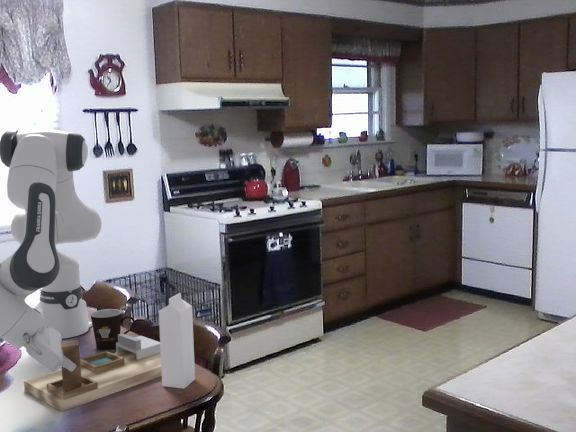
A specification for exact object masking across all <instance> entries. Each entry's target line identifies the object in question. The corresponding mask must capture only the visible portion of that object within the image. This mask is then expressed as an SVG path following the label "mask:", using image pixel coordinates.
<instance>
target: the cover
mask: <svg viewBox="0 0 576 432" xmlns="http://www.w3.org/2000/svg"><path fill="white" fill-rule="evenodd" d="M123 333H124V332H122V333H120V334H118V343H116V349H115V351H116V352H120V351H124V350H128V351H131V352H133V353H136V360H140V359H143V358H146V357H149V356H152V355H155V354H158V353H161V349H160V341H158V340H155V339H152V338H149V337H146V336H143V335H138V336H131V335H129V334H127V333H126V334H123ZM116 352H115V353H116Z"/></svg>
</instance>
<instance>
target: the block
mask: <svg viewBox="0 0 576 432" xmlns="http://www.w3.org/2000/svg"><path fill="white" fill-rule="evenodd" d="M79 341H80V340H79V339H75V340H73V339H72V340H65V341H62V342H61V348H62V349H63V355H64V356H65V357H66V358H68V359H69V360H72V361H73V362H75V363H76V368H75V369H74V370H73V371H69V370H68V369H66V368H64V367H62V366H61V369H62V379H63V391H65V392H67V391H70V390H73V389H76V388H79V387H82V380H81V365H80V359H81V352H80V349H81V348H80V342H79Z"/></svg>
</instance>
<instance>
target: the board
mask: <svg viewBox="0 0 576 432" xmlns="http://www.w3.org/2000/svg"><path fill="white" fill-rule="evenodd" d="M80 365H81V380H82V387H79V388H76V389H73V390H70V391H67V392H65V391H63V379H62V368H61V369H56V370H55V371H51V372H48V373H45V374H42V375H37V376H35V377H32V378H28V379H26V380H23V387H24V388H23V389H24V392H26V393H28V394H29V395H31V396H34V397H35V398H37V399H38V400H40V401H42V402H43V403H45V404H46V405H49V406H51V407H53V408H54V409H56V410H58V411H59V412H60V413H61V412H62V413H63V412H65V411H68V410H71V409H74V408H76V407H79V406H82V405H85V404H88V403H90V402H93V401H96V400H99V399H102V398H105V397H106V396H109V395H112V394H115V393H117V392H121V391H124V390H126V389H129V388H132V387H135V386H138V385H140V384H143V383H146V382H149V381H152V380H155V379H156V378H160V377H162V370H161V353H158V354H155V355H152V356H149V357H146V358H143V359H140V360H136V353H133V352H131V351H128V350H124V351H120V352H114V353H112V352H110V351H109V350H106V351H103V352H99V353H96V354H92V355H89V356H86V357H83V358H80Z"/></svg>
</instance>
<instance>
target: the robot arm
mask: <svg viewBox="0 0 576 432" xmlns="http://www.w3.org/2000/svg"><path fill="white" fill-rule="evenodd" d="M88 155H89V149H88V144H87V142H86V139H85V138H84V136H82V134H80V133H77V132H73V131H69V132H67V131H62V130H56V129H46V128H45V129H19V128H16V129H9V130H6V131H5V132H4V133H3V134H1V138H0V161H1V163H3V165H4V166H5V167H7V168H9V170H8V175H7V181H6V182H7V184H6V190H7V191H6V192H7V198H8V200H9V201H10V202H11V203H12V204H13V206H16V207H18V209H21V210H24V211H21V212H17V213H16V215H14V216H13V219H12V220H11V224H10V231H11V232H10V233H11V235H12V237H13V239H14V240H15V241H16V242H17V243H18V244H19V246H18V248H17V249H16V250H15V251H14V252H13V253H11V255H10V256H8V257H7V258H6V259H4V260H2V261H1V262H0V339H1V340H3V341H4V342H6V343H7V344H9V345H10V346H11V347H12V348H14V349H15V350H19V349H21V348H23V347H24V348H25V352H26V353H27V354H28V355H29V356H30V357H31V358H32V359H34V360H35V361H36V362H37V363H39V364H40V365H42V367H44V368H45V369H46V370H48V371H51V372H54V371H57V370H58V368H59V367H61V368H62V367H64V368H66V369H68V370H69V371H73V370H74V369H75V368H76V363H75V362H73V361H72V360H69V359H68V358H66V357H65V356H64V355H63V349H62V348H61V342H63V341H62V339H68V338H74V337H78V336H80V335H83V334H85V333H87V332H88V331H90V330H89V329H90V328H91V327H93V326H92V321H89V314H88V307H87V302H86V301H85V300H84V299H82V298H83V288H82V285H81V278H80V277H81V276H80V264H79V262H78V260H77V259H76V258H75V257H73V256H71V255H69V254H66V253H63V252H61V251H59V250H58V249H57V245H59V244H60V245H61V244H75V243H76V244H77V243H83V242H87V241H91V240H94V239H96V238H97V237H98V235H99V234H100V232H101V229H102V219H101V217H100V214H99V213H98V211H96V210H95V209H94V208H93V207H90V206H89V205H87V204H86V203H84V202H83V201H82V200H81V199H80V198H79V196H78V194H77V192H76V187H75V181H74V172H76V171H80V170H81V169H83V167H85V165H86V162H87V159H88ZM38 290H39V291H40V292H39V302H38V303H36V305H35V306H34V307H31V306H30V305H29V304H27V303H26V299H27V297H28V296H31V295H32V294H33V293H35V292H37V291H38Z"/></svg>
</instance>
